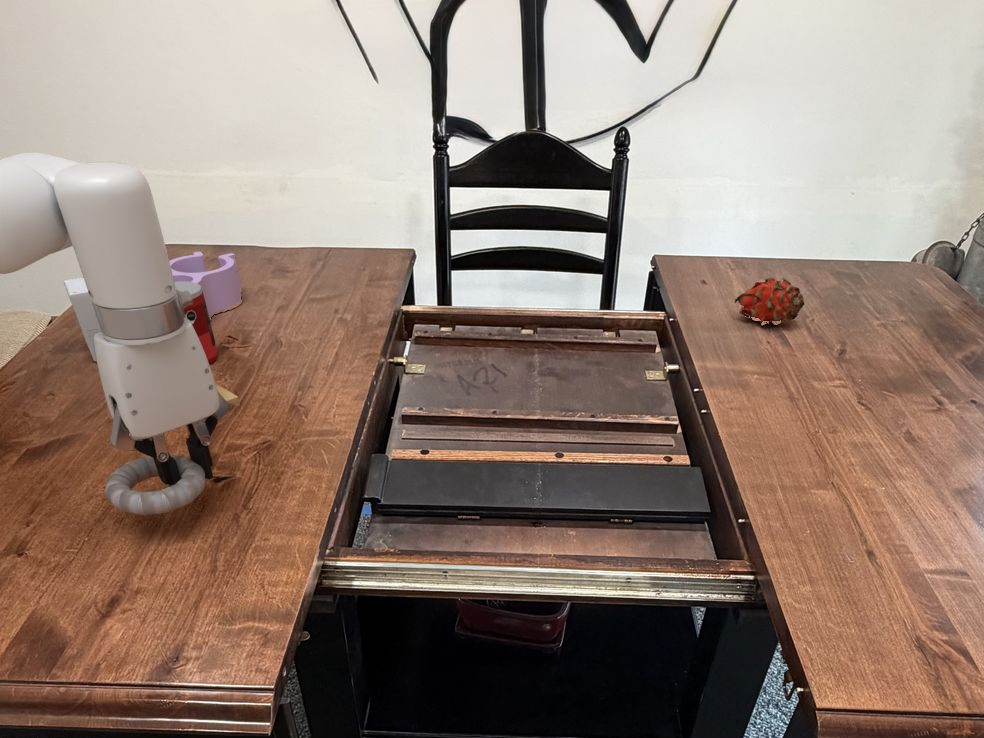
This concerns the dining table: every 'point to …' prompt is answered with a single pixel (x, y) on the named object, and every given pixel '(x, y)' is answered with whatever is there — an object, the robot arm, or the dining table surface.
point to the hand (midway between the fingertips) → (189, 478)
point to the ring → (154, 500)
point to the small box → (83, 311)
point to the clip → (210, 279)
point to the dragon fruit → (771, 301)
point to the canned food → (199, 318)
